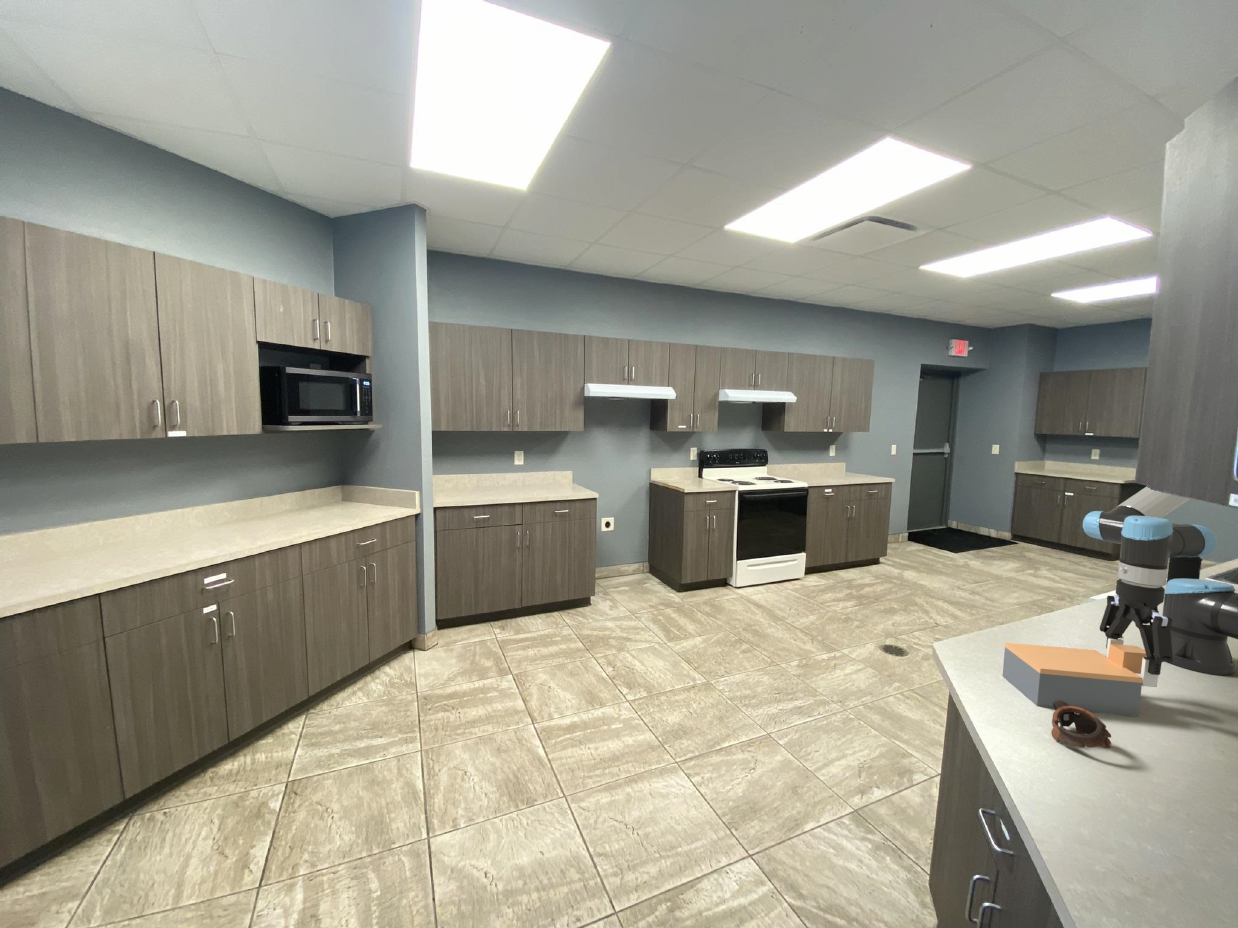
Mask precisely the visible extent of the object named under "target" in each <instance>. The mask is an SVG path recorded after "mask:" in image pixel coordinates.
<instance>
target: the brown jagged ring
mask: <svg viewBox="0 0 1238 928" xmlns="http://www.w3.org/2000/svg"><path fill="white" fill-rule="evenodd" d="M1052 704H1053V707H1054V708H1053V709H1054V712H1053V714H1052V719H1051V724H1052V725H1051V726H1052V728H1051V732H1050V735H1051V736H1052V738H1053V740H1054V741H1055V740H1056V741H1057V742H1056V741H1055V742H1056V743H1058V742H1063V743H1065V744H1069V745H1072V746H1075V747H1078V748H1095V747H1101V748H1104V749H1106V748H1107V749H1110V748H1111V745H1112V742H1111V739H1110V738H1112V735H1111V733H1110V731H1109V730H1108V729H1107V725H1106V724H1105V723H1104V722H1103V721H1102V720H1100V719H1099V718H1098V717H1097V715H1095V714H1094V713H1093V712H1090V711H1087V710H1085V709H1083V708H1080V707H1076V706H1069V705H1068V704H1067V703H1066V702H1064V701H1063V700H1059V699H1058V700H1054V701H1053V703H1052ZM1072 724H1074V727H1075V731H1076V732H1073V731H1072V730H1071V731H1070V730H1069V729H1067V727H1068V728H1069V727H1070V726H1071V725H1072ZM1065 727H1066V728H1065Z"/></svg>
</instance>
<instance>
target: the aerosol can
mask: <svg viewBox="0 0 1238 928" xmlns="http://www.w3.org/2000/svg"><path fill="white" fill-rule="evenodd" d="M1202 562H1203V558H1201V556H1197V557H1170V558H1169V559H1168V567H1167V578H1166V585H1165V587H1166V586H1167V582H1168V581H1170V580H1172V579H1181V578H1183V579H1200V577H1201V576H1200V575H1201V570H1202Z"/></svg>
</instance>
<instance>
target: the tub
mask: <svg viewBox="0 0 1238 928" xmlns="http://www.w3.org/2000/svg"><path fill="white" fill-rule="evenodd" d="M1002 665H1003V667H1002V677H1003V678H1004V679H1005V680H1006V681H1007V682H1008V683H1010V684H1011V685H1012V686H1013V687H1014V688H1015V689H1017V690H1018V692H1020V693H1021V694H1023V695H1024V696H1025V697H1026V698H1027V699H1028V700H1030V702H1031V703H1033V704H1034V705H1035V706H1036V707H1043V708H1044V707H1046V708H1053V709H1054V707H1053V704H1052V703H1053V701H1054V700H1058V699H1059V700H1063V701H1064V702H1066V703H1067V704H1068V705H1069V706H1076V707H1080V708H1083V709H1085V710H1087V711H1089V712H1091V713H1102V714H1111V715H1119V716H1129V717H1130V716H1131V717H1139V712H1140V705H1141V697H1142V696H1141V695H1142V687H1143V686H1142V683H1137V682H1126V681H1116V680H1105V679H1094V678H1083V677H1073V676H1062V675H1051V674H1041V673H1039V672H1038V671H1036V670H1035V669H1034V668H1032V667H1031V666H1030V665H1028V664H1027V663H1026V662H1024V661H1023V660H1022V659H1020V658H1019V657H1018V656H1016V655H1015V654H1014V653H1012V652H1011V651H1010V650H1008V649H1007V648H1006V647H1005V646H1004V657H1003V664H1002Z"/></svg>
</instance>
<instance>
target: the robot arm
mask: <svg viewBox="0 0 1238 928" xmlns="http://www.w3.org/2000/svg"><path fill="white" fill-rule="evenodd" d="M1189 500H1190V499H1187V498H1183V497H1179V496H1173V495H1171V494H1166V493H1161V492H1159V491H1154V490H1151V489H1150V488H1148V487H1147V486H1145V487H1144V488H1142V489H1141V490H1139V491H1138V492H1136V493H1135V494H1133V495H1132V496H1130V497H1129V498H1127V499H1125V501H1124V500H1123V502H1121V503H1120V504H1119V505H1116V507H1114V508H1113V509H1111V510H1110V511H1108V512H1107V511H1105V510H1100V511H1099V510H1094V511H1090V512H1089V513H1087V514H1086V515H1085V516H1084V518H1083V521H1082V528H1083V531H1084V534H1086V535H1087V536H1088V537H1090V538H1093V539H1097V540H1100V541H1103V542H1109V543H1114V544H1118V545H1120V552H1119V555H1120V556H1119V562H1118V563H1119V564H1118V572H1117V577H1118V579H1117V580H1116V585H1115V594H1116V595H1107V596H1106V603H1107V604H1106V606H1105V610H1104V613H1103V616H1102V619H1101V621H1100V622H1101V623H1100V625H1099V631H1100V632H1102V633H1104V634H1105V637H1106V644H1105V645H1106V646H1105V648H1106V652H1105V653H1106V655H1105V656H1106V657H1108V655H1109V646H1110V644H1118V645H1124V642H1125V641H1124V640H1123V639H1124V636H1123V635H1124V633H1125V632H1126V631H1127V629H1128V628H1129V626H1130V625H1131V623H1132V622H1134V624H1135V627H1136V628H1137V629H1139V633H1140V634H1139V635H1140V637H1141V640H1142V645H1143V648H1144V650H1145V652H1146V656H1147V657H1143V660H1142V668H1141V674H1140V677H1142V678H1143V679H1142V687H1148V688H1149V687H1150V688H1157V687H1158V681H1159V680H1158V679H1159V676H1160V675H1161V669H1162V663H1169V664H1172V665H1174V666H1177V667H1181V668H1183V669H1188V670H1192V671H1195V672H1199V673H1204V674H1205V673H1206V674H1210V675H1217V676H1218V675H1219V676H1229V675H1233V674H1234V673H1235V667H1236V664H1235V661H1234V660H1233V657H1232V653H1231V650H1230V646H1229V644H1228V638H1231V639H1235V640H1238V593H1237V592H1236V588H1235V586H1234V585H1232V584H1229V583H1226V582H1221V581H1217V580H1216V581H1214V580H1208V579H1200V578H1199V579H1183V578H1181V579H1172V580H1170V581H1168V582H1167V576H1168V567H1169V560H1170V557H1197V556H1199V557H1201V556H1203V557H1204V556H1207V555H1210V554H1211V553H1213V552H1214V551H1215V550H1216V548H1217V545H1218V540H1217V537H1216V535H1215V534H1214V532H1213V531H1212V530H1211V529H1209V528H1207V527H1205V526H1203V525H1200V524H1193V523H1192V524H1191V523H1182V524H1181V523H1175V522H1174V523H1173V522H1172V521H1171V520H1170V519H1167V518H1164V517H1165V516H1167V515H1169V514H1170V513H1172V512H1173V511H1174V510H1176V509H1177V508H1180V507H1181V506H1182V505H1184V504H1185V503H1186V502H1189ZM1166 584H1167V586H1166ZM1164 586H1165V588H1164ZM1160 604H1161V605H1162V604H1163V606H1162V607H1163V608H1162V614H1160V613H1159V608H1158V606H1159V605H1160Z"/></svg>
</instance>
